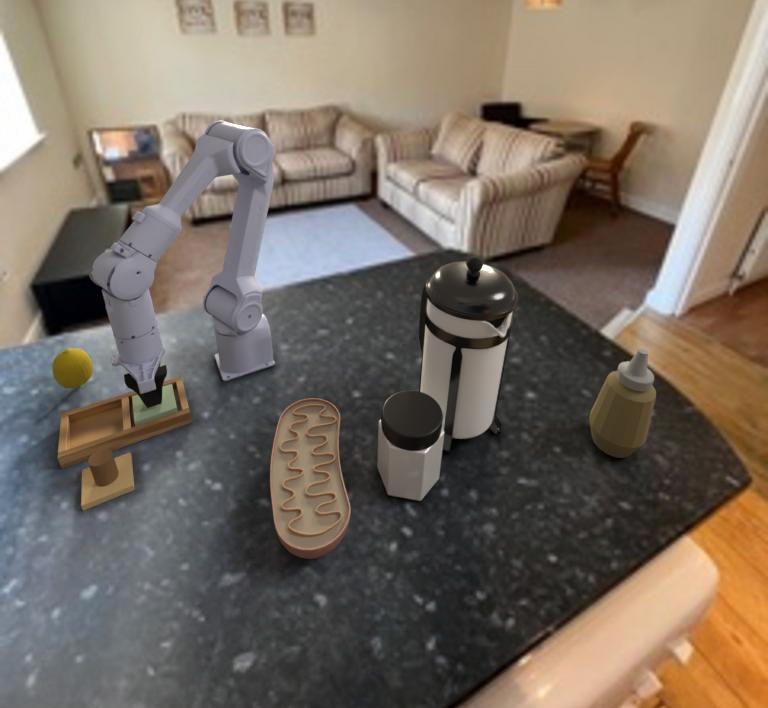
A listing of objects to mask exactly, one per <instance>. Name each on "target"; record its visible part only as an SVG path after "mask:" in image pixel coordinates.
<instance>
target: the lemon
mask: <svg viewBox="0 0 768 708" xmlns="http://www.w3.org/2000/svg"><path fill="white" fill-rule="evenodd" d="M51 368H52V376H53V378H54V380H55V382H56V383H57V384H58V385H59V386H61V387H63V388H64V389H65V388H66V389H76V388H81V387H83V386H84V385H85V384H86V383H87V382H89V380H90V379H91V377H92V375H93V371H94V365H93V361H92V359H91V357H90V356H89V354H88V353H87V352H85V351H84V350H83V349H80V348H78V347H77V348H76V347H71V348H66V349H64V350H62V351H61V352H59V353H57V355H56V356H55V357H54V359H53V362H52V367H51Z"/></svg>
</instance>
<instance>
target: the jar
mask: <svg viewBox="0 0 768 708" xmlns="http://www.w3.org/2000/svg"><path fill="white" fill-rule="evenodd" d="M380 413H381V414H380V419H379V420H378V426H377V427H378V428H377V429H378V430H377V432H378V433H377V464H376V465H377V466H376V467H377V470H378V473H379V475H380V478H381V481H382V483H383V486H384V488H385V491H386V494H387V495H388V496H391V497H397V498H403V499H408V500H412V501H419V502H421V501H423V499H424V498H425V496H426V495H427V494H428V493H429V492H430V491H431V489H432V488H433V487H434V486H435V484H436V483H437V482H438V481H439V480H440V475H441V467H442V457H443V452H442V450H443V441H444V430H443V429H442V420H443V413H442V409H441V407H440V405H439V404H438V403H437V401H436V400H435V399H433V398H432V397H431V396H429V395H427V394H425V393H422V392H419V390H412V389H411V390H402V391H398V392H395V393H393V394H392V395H390V396H389V397H388V398H386V400H385V401H384V403H383V405H382V407H381V412H380Z"/></svg>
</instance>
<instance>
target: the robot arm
mask: <svg viewBox="0 0 768 708" xmlns="http://www.w3.org/2000/svg"><path fill="white" fill-rule="evenodd" d="M275 152H276V146H275V145H274V143H273V142H272V140H271V139H270V137H269V136H268V134H267V133H266V132H265V131H264V130H262V129H260V128H256V127H248V126H243V125H240V124H235V123H231V122H228V121H226V120H216V121H213V122H212V123H210V124H209V125H208V126H207V128H206V129H205V131H204V133H203V134H202V135H199V137H198V138H197V139H196V142H195V148H194V151H193V153H192V155H191V157H190V158H189V159H188V160H187V162H186V163H185V165H184V166H183V168H182V169H181V171H180V172H179V173H178V175H177V177H176V178H175V180H174V181H173V182H172V184H171V185H170V187H169V188H168V190H167V192H166V193H165V194H164V196H163V197H162V198H161V200H160V202H159V203H157V204H152V205H148V206H145V207H143V209H142V210H141V212H140V211H136V212H135V214H133V216H132V217H131V219H132V220H133V222H132V223H131V224H130V226H129V227H128V228H127V229H126V230H125V232H124V233H123V234H122V236H121V237H120V238H119V239H118V240H117V242H113V244H112V245H111V246H110V249H108V250H106V251H105V252H101V254H100V255H98V256H97V257H96V258H95V260H94V261H93V263H92V267H91V268H92V270H91V271H90V273H88V276H89V278H90V280H91V281H92V282H93V283H94V284H95V285H97V286H99V287H101V288H102V289H101V293H102V296H103V301H104V304H105V310H106V313H107V317H108V320H109V324H110V327H111V331H112V334H113V338H114V341H115V345H116V348H117V351H118V353H115V354H113V355H112V356H111V357H110V363H111V366H112V367H118V366H120V367H122V368H123V369H124V370H125V371H126V372H127V373H125V374H124V375H123V379H124V384H125V386H126V387H127V388H128V389H129V390H132V391H135V392H136V393H137V394H138V395H139V397H140V398H141V400H142V402H143V403H144V404H145V406H146V407H147V408H150V407H153V406H156V405H159V404H161V403H162V387H163V382H164V381H166V378H167V375H168V368H167V365H166V364H163V365H161V361H162V359H163V356H164V354H165V345H164V343H163V342H162V339H161V334H160V330H159V325H158V321H157V317H156V313H155V309H154V304H153V299H152V296H151V292H150V288H152V287H153V284H154V281H155V271H156V268H158V262H159V261H160V259H161V258H162V257H163V256H164V254H165V253H166V252H167V251H168V249H169V248H170V246H171V245H172V244H173V242H174V241H175V240H176V239H177V237H178V236H179V235H180V233H181V232H182V230H183V228H182V217H183V215H184V214H185V213H186V212H187V211H188V210H189V209H190V208H191V206H192V205H193V204H194V203H195V202H196V201H197V199H198V198H199V197H200V196H201V195H202V194H203V193H204V191H205V190H206V189H207V188H208V187H209V186H210V185H211V183H212V182H213V181H214V180H215V179H216V178H220V177H226V176H231V175H232V176H233V178H234V180H236V181H237V183H238V187H237V191H236V197H235V201H234V207H233V212H232V218H231V223H230V229H229V233H228V239H227V244H226V249H225V254H224V259H223V263H222V264H223V265H222V270H221V271H220V272H219V273H217V274H215V275H214V276H212V277H211V281H210V285H209V287H208V289H207V291H206V292H205V294H204V296H203V298H202V307H203V310H204V311H205V312H206V314H208V315H210V316H211V319H212V322H213V329H214V335H215V342H216V347H217V353H215V354H214V355H213V356H214V360H215V362H216V365H217V368H218V371H219V374H220V377H221V379H222V382H227V381H232V380H235V379H237V378H240V377H243V376H247V375H249V374H252V373H256V372H258V371H261V370H264V369H267V368H270V367H273V366H275V365H276V361H275V360H274V351H273V349H274V348H273V340H272V333H271V328H270V324H269V321H268V319H267V316H266V315H265V314H264V306H263V302H262V300H263V299H262V298H263V293H264V292H263V290H262V288H261V286H260V284H259V281H257V278H256V272H257V266H258V261H259V255H260V251H261V247H262V241H263V237H264V232H265V226H266V221H267V216H268V212H269V208H270V207H269V206H270V202H271V198H272V192H273V187H274V182H275V174H274V165H273V161H274V157H275Z"/></svg>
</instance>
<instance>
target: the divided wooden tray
mask: <svg viewBox="0 0 768 708" xmlns="http://www.w3.org/2000/svg"><path fill="white" fill-rule="evenodd" d="M169 384H172V387H173V392H174V396H175V401H176V406H177V410H178V412H176V413H173V414H170V415H167V416H164V417H161V418H158V419H155V420H152V421H149V422H147V423H144V424H141V425H138V426H135V423H134V414H133V404H132V396H135V395H138V394H137V393H136V392H135V391H133V390H132V391H129V392H125V393H123V394H119V395H115V396H113V397H112V396H111V397H109V398H106V399H102V400H100V401H97V402H93V403H90V404H87V405H84V406H80V407H78V408H74V409H70V410H68V411H64V412H62V413H60V424H59V433H58V434H59V435H58V447H57V456H56V457H57V462H58V463H59V466H60V468H61V470H63V469H67V468H69V467H73V466H75V465H78V464H80V463H83V462H86V461H88V459H89V457H90V456H91V455H92V454H93V453H94V452H96V451H98V450H100V449H104V448H107V449H110V450H111V451H112V452H114V451H116V450H119V449H122V448H125V447H127V446H131V445H133V444H136V443H139V442H141V441H143V440H147V439H151V438H153V437H155V436H158V435H161V434H163V433H167V432H169V431H173V430H175V429H178V428H180V427H184V426H186V425H189V424H191V423H193V420H192V416H191V415H192V414H191V411H190V407H189V403H188V398H187V394H186V391H185V386H184V382H183V378H182V376H177V377H174V378H171V379H167V380H164V382H163V386H166V385H169Z"/></svg>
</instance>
